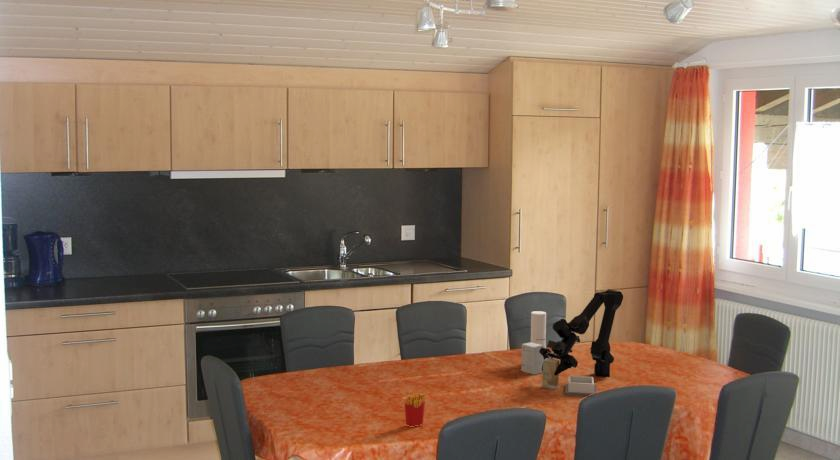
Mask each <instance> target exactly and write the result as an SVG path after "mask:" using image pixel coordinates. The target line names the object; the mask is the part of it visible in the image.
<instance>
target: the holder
mask: <svg viewBox="0 0 840 460" xmlns="http://www.w3.org/2000/svg"><path fill="white" fill-rule="evenodd" d="M567 380H568V383H565V389H564V390H565V394H564V395H565V396H576V397H577V396H578V397H589V396H588V395H590V394H593V393H596V392H597V385H596V384H595V382H594V381H595V380H594V376H585V375H584V376H582V375H568V379H567Z"/></svg>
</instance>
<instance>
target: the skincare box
mask: <svg viewBox="0 0 840 460" xmlns="http://www.w3.org/2000/svg"><path fill="white" fill-rule="evenodd" d="M559 364H560V360H559V359H556V358H553V359H549V358H546V359H544V360H543V372H542V378H541V382H542V383H541V388H544V389H545V388H546V389H551V390H556V389H558V387H559V376H560V373H559V374H558V375H556V376H555V375H554V373H555V371H556V369H557V367H558V366H559Z"/></svg>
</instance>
